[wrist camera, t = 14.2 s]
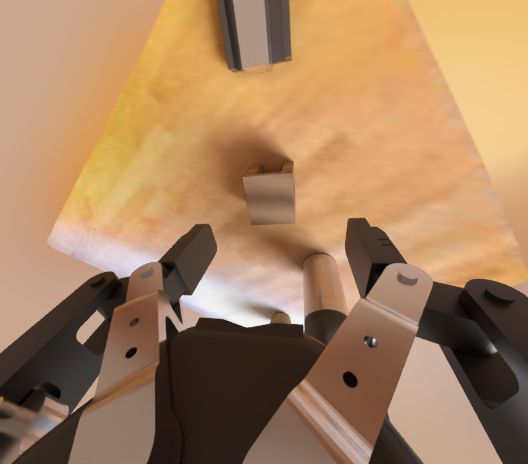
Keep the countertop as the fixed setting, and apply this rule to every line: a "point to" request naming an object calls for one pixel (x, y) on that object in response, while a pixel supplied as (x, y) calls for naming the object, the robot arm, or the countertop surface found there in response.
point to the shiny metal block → (254, 35)
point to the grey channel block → (278, 31)
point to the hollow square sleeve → (270, 195)
